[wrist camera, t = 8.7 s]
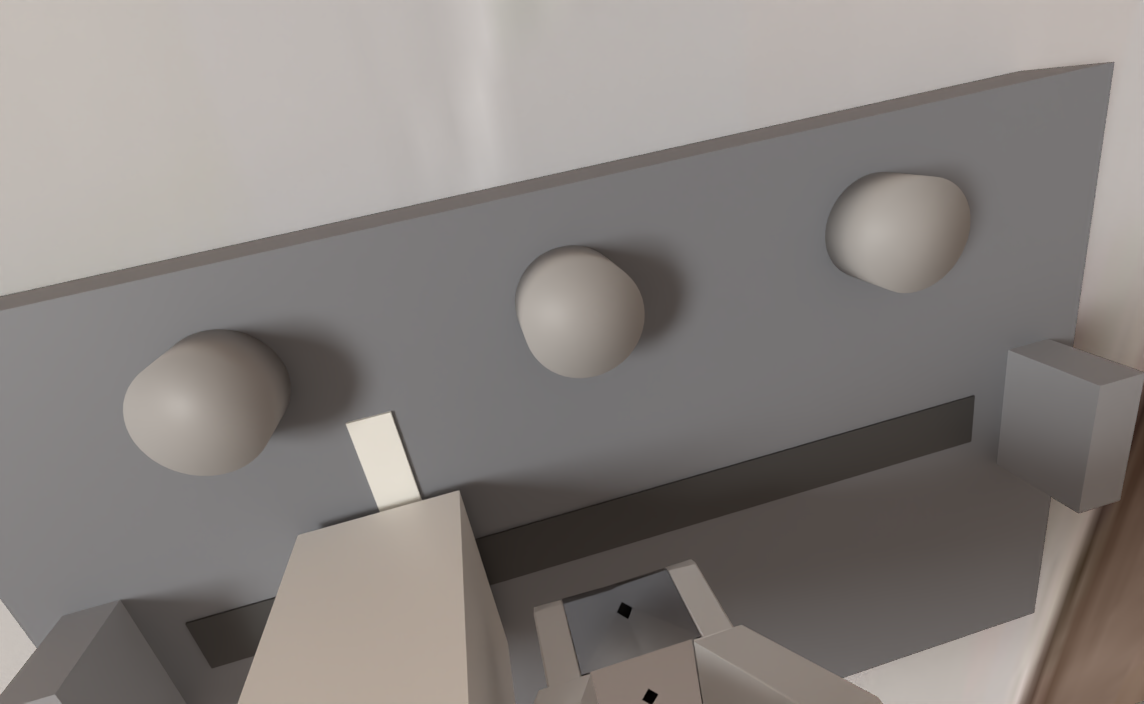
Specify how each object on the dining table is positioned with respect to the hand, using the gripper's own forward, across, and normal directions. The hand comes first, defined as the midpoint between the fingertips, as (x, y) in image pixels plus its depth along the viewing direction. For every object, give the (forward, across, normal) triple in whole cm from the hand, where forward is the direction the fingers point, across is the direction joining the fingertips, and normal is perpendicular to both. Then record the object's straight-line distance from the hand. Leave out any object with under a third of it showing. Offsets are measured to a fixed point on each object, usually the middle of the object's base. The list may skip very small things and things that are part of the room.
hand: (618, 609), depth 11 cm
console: (+4, -1, 0) cm, 4 cm away
